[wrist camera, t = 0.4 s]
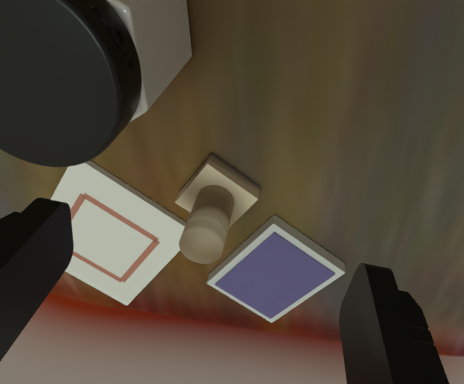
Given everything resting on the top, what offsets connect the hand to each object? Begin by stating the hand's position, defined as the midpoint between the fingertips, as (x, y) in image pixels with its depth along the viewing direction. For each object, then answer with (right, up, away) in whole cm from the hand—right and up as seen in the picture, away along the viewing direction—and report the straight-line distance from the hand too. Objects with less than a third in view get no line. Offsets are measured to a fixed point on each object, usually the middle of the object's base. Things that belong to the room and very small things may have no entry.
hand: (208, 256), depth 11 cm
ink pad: (+5, -5, +25) cm, 26 cm away
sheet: (-11, -3, +26) cm, 29 cm away
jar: (-6, +13, +15) cm, 21 cm away
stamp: (0, +2, +21) cm, 21 cm away
